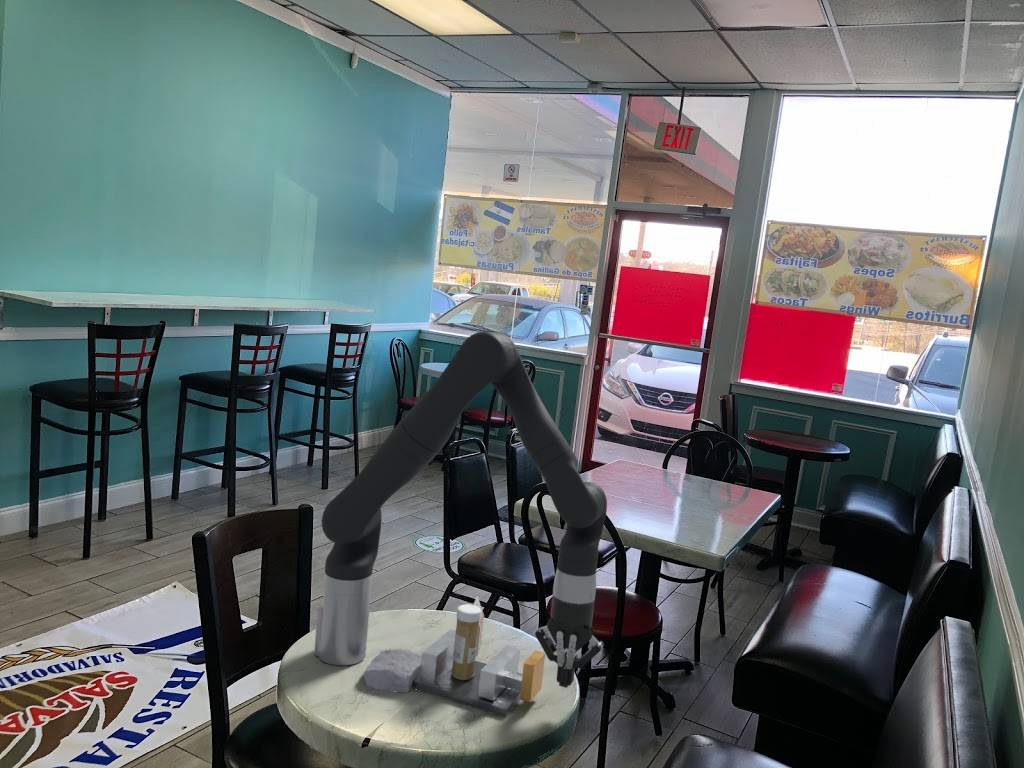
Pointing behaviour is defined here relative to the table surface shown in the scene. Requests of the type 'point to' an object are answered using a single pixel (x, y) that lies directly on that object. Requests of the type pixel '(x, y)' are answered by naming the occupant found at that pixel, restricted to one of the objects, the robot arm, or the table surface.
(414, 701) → the table surface
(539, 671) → the sliding jaw
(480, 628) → the tea box
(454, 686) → the vise
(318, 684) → the table surface
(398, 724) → the table surface
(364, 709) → the table surface
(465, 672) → the sprinkles bottle
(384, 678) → the stone block
